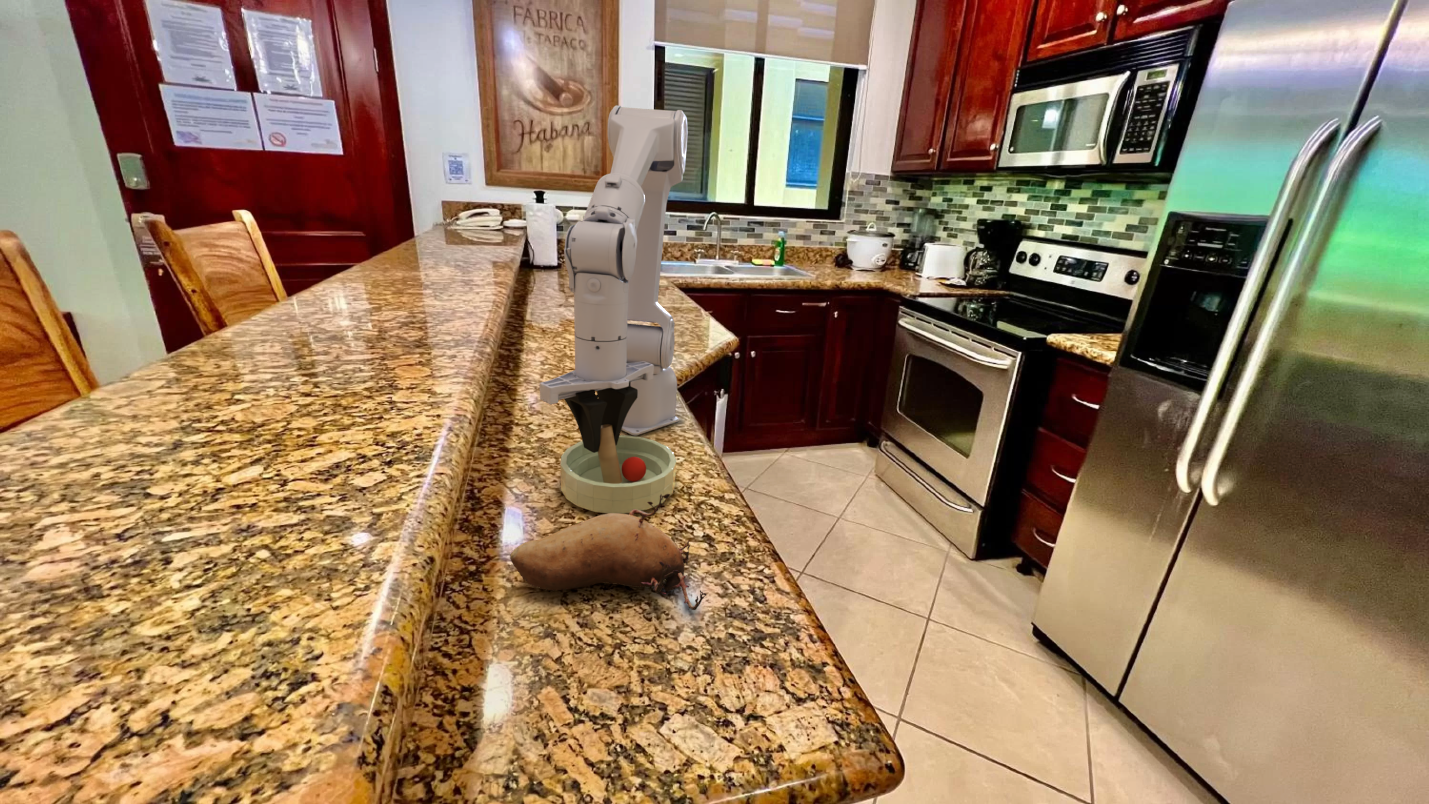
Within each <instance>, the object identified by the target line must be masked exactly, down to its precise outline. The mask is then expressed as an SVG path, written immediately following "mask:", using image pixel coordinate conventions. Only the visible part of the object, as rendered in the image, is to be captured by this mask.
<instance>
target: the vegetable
mask: <svg viewBox="0 0 1429 804" xmlns="http://www.w3.org/2000/svg"><path fill="white" fill-rule="evenodd" d="M661 496H662V494H661V495H660V502H659V505H657V507H656V508H655V506H654V507H653V506H652V504H653V503H652V502H647V503H648V504H649V505H651V506H652V509H653V510H652V511H651V512H649V513H648V512H645V511H643V510H642V511H640V510H636V509H633V510H632V511H630V513H624V514H619V513H603V514H600V515H597V516H594V517H591V518H588V519H586V520H583V521H580V522H578V523H575V524H572V525H570V526H567V527H565V528H563V529H559V530H558V531H556V532H554V533H551V534H549V535H546V536H544V537H542V538H539V539H536V540H535V539H534V540H528V541H526V542H523V543H521V544H519V545H518V546H516V548H514V549H513V550H512V552H511V553H510V556H509V559H510V561H511V563H512V565H513V567H514V568H515V569H516V570H517V572H518V573H519V575H520V576H521V578H522V580H523V581H525V582H526V583H527V584H529V585H531V587H535V588H537V589H542V590H546V591H547V592H549V591H552V592H553V591H566V590H572V589H577V588H583V587H592V586H593V585H594V586H595V585H597V584H608V585H618V586H619V585H621V586H628V587H632V588H633V587H634V588H650V587H654V588H653V590H652V591H653V592H655V593H656V594H659V593H660V594H663V595H667V593H666V592H672V591H675V590H678V589H680V587H681V591H682V594H683V599H684V601H683V604H687V607H688V611H690V610H691V611H696V610H697V609H698V608H699V607H700V605H701V603H702V601H703V599H705V597H707V595H708V594H707V593H706V592H703V591H702V590H699V595H696V598H695V600H694V602H695V604H694V606H693V604H692V603H691V601H690V599H689V597H688V593H687V588H689V587H690V585H688V584H687V585H686V583H685V578H686V577H688V575H687V574H686V575H685V565H686V566H688V564H689V563H688V562H689V560H690V559H689V555H690V548H691V544H689V543H690V540H688V541H687V543H686V542H684V545H683V546H682V547H678V545H677V544H676V542H675V541H674V540H673V539H672V538H671V537H670V536H669V535H667V534H666V532H663V530H662V529H660V528H658V527H656V526H654V525H653V524H651V523H649V522H648V521H646V520H645V518H647V517H652V516H654V515H655V514H656V513H657V512H658V511H659V509H660V508H661V507H662V506H663V505H664V503H665V502H666V501H667V499H669V498H670V497H671V496H670V494H666V495H664V496H662V498H661ZM663 498H664V499H665V501H664V502H663V503H661V500H662V499H663ZM635 514H639V515H641V517H638V516H636V515H635ZM685 549H686V550H687V551H684V550H685ZM683 555H685V557H684V556H683ZM662 589H664V590H665V591H666V592H664V591H662ZM698 596H699V597H698Z"/></svg>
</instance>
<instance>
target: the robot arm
mask: <svg viewBox="0 0 1429 804" xmlns="http://www.w3.org/2000/svg"><path fill="white" fill-rule="evenodd" d="M607 142H608V147H609V150H610V152H611V155H612V158H613V160H612V165H611V170H610V173H607V174H605V175H603V176H601V177H600V178H599V179H598V181H597V183H596V184H595V188H594V190H593V192H592V195H591V198H590V201H589V202H588V205H587V207H586V211H585V213H584V216H583V218H582V220H579V221H577V222H576V223H575V225H574V224H572V225H570V226H569V227H568V229H567V231H566V233H565V234H566V235H565V241H564V249H563V254H564V263H565V267H566V271H567V274H568V289H569V291H570V293H572V294H573V316H574V317H573V319H574V320H573V321H574V322H573V323H574V324H573V325H574V328H573V329H574V330H573V331H574V369H573V370H571V371H569V372H567V373H564V374H562V375H559V376H557V377H555V378H552V379H549V380H545V381H542V382H539V400H540V401H542V402H544V403H546V404H547V405H550V406H551V405H555V404H558V403H559V401H561V400H564V401H565V403H566V404H567V406H568V408H569V409H570V411H571V413H572V415H573V417H574V420H575V422H576V425H577V428H578V430H579V433H580V437H581V441H583V445H584V448H586V449H587V450H589V451H591V452H593V453H596V452H598V451H599V447H600V439H601V425H607V424H610V425H612V429H613V435H614V440H615V445H617V443H618V439H619V436H620V435H621V432H622V431H623V432H624V433H628V434H629V435H630V436H636V437H637V436H639V435H642V434H645V433H649V432H651V431H654V430H657V429H659V428H663V427H666V426H669V425H672V424H675V423H677V422H679V421H680V418H679V417H677V416H676V414H677V413H676V411H677V394H678V379H677V376H676V373H675V371H674V369H673V368H672V367H671V365H672V363H673V358H674V352H675V343H676V341H675V326H676V325H675V321H674V318H673V316H672V314H670V313H669V312H668V311H667V310H666V309H665V308H664V307H663V306H662V305H661V304H660V303H659V295H660V294H659V293H660V284H661V283H660V282H661V281H660V280H661V270H662V260H663V259H662V258H663V247H664V235H665V225H666V224H665V223H666V214H667V213H666V212H667V203H668V199H669V195H670V191H671V188H672V187H673V186H675V185H677V184H679V183H682V182H683V175H684V173H685V171H686V159H687V149H688V119H687V115H686V114H685V113H684V111H683V110H682V109H677V110H667V109H665V110H664V109H652V108H641V107H640V108H638V107H626V106H625V107H624V106H621V105H617V104H616V105H615V106H613V107H612V109H611V110H610V112H609V115H608V119H607ZM628 321H632V322H633V321H634V322H643V323H653V324H658V325H659V326H657V325H650V324H649V325H648V324H637V323H628Z"/></svg>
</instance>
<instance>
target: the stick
mask: <svg viewBox="0 0 1429 804" xmlns="http://www.w3.org/2000/svg"><path fill="white" fill-rule="evenodd" d="M598 457H599V462H600V467H601V472H602V477H603V482H604V483H611V484H620V483H621V482H622V476H621V471H620V466H619V461H618V456H617V450H616V445H615V440H614V435H613V429H612V425H610V424H607V425H601V439H600V447H599V451H598Z"/></svg>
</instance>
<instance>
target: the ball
mask: <svg viewBox="0 0 1429 804" xmlns="http://www.w3.org/2000/svg"><path fill="white" fill-rule="evenodd" d="M621 471H622V474H623V476H624V477H625V478H626V479H627V480H629V481H639V480H640V479H642V478H643V477H644V475H645V473H646V465H645V463H644V461H643V460H642V459H640V458H638V457H630V458H628V459H626V460H625V461H624V462H623V464H622V468H621Z"/></svg>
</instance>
